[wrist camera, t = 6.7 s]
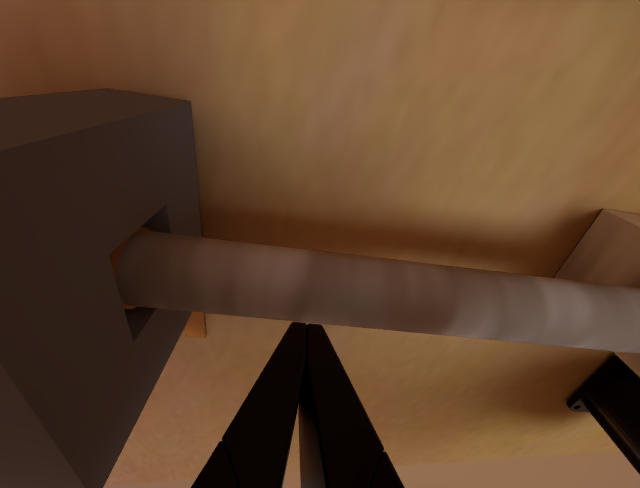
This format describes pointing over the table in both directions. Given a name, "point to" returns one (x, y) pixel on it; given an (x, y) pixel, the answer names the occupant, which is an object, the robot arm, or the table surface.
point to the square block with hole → (83, 274)
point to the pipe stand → (397, 289)
